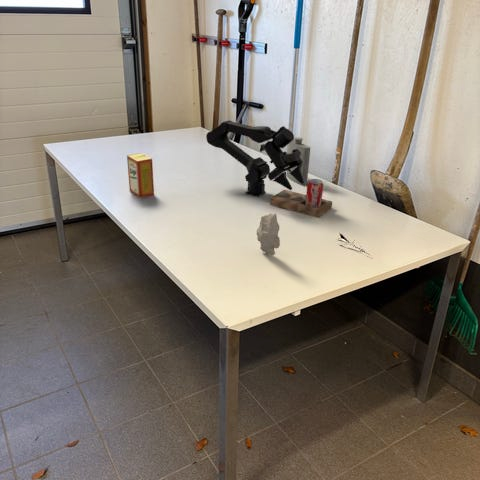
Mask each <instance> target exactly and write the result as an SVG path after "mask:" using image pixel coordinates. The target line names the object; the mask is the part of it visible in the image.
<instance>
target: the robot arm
mask: <svg viewBox="0 0 480 480" xmlns="http://www.w3.org/2000/svg"><path fill="white" fill-rule="evenodd" d="M230 133H233V134H235V135H236V134H237V135H240V136H244V137H247V138H249V139H250V140H251V141H253V142H255V143H257V144H260V148H259V153H260V152H261V153H262V152H265V153H266V154H267V156H268V158H269V159H270V161H269V164H273V165H274V167H275V168H274V169H272V170H271V167H270V165H269V164H268V161H265V160H264V159H263V158H262V157H260V156H259V157H257V158H254V157H252V156H251V155H250V154H249V153H247V152H246V151H244V150H243V149H242V148H240V147H239V146H237V145H236V144H235V143H234V142H233V141H231V140H230V137H229V136H228V135H229V134H230ZM205 139H206V142H207V143H208V144H209V145H211V146H212V147H214V148H218V149H222V150H223V151H224V152H226V153H227V154H228V155H230V156H231V157H232V158H233V159H235V160H236V161H237V162H238V163H240V164H241V165H242V166H244V167H245V168H246V170H247V174H246V175H245V176H244V177H245V181H246V182H247V191H246V192H245V194H246V195H250V196H253V197H260V196H262V195H264V194H265V193H266V191H265V189H266V186H265V185H266V184H265V179H267V178H268V179H269V181H270V182H271V181H272V182H275V183H277V184H279V185H281V186H282V187H285V188H286V190H287V189H288V191H291V190H293V187H292V185H291V182H290V181H289V178H288V177H287V176H286V174H287V170H288V171H290V174H291V175H292V176H293V177H294V178H295V179H296V180H297V181H299V182H300V183H301V184H303V183H304V181H303V177H302V174H301V166H302V163H303V161H302V160H301V158H300V155H301V152H300V151H299V150H298V149H294V150H292V153H290V154H288V151H287V152H286V151H283V150H282V149H284V148H286V147H287V146H289V143H290V142H291V141H292V140H294V139H295V135H294V133H293V131H291V130H290V129H289V128H287V127H285V126H281V127H279V129H278V130H273V129H271V127H270V126H264V125H262V126H261V125H260V126H259V125H258V126H252V125H248V124H244V123H240V122H234V121H232V120H229V119H228V120H225V121H222V122H221V123H220V124H218V125H217V127H215V128H214V129H212V130H210V131H208V132H207V133H206V138H205ZM265 142H266V143H265Z"/></svg>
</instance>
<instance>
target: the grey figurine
mask: <svg viewBox="0 0 480 480" xmlns="http://www.w3.org/2000/svg"><path fill="white" fill-rule="evenodd" d="M279 231H280V224H279V222H278V216H277V214H276V213H271V212H270V213H269V214H267V215H263V216H261V217H260V221H259V226H258V228H257V229H256V237H257V238H256V239H257V241H258V242H259V243H260V248H259V249H260V250H261V251H262V252H263V253H265V254H266V255H270V256H275V254H276V251H275V249H278V248H280V246H281V240H280V237H279V236H278V235H279Z"/></svg>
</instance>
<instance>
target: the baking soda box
mask: <svg viewBox="0 0 480 480" xmlns="http://www.w3.org/2000/svg"><path fill="white" fill-rule="evenodd" d="M126 158H127V159H126V160H127V161H126V162H127V171H128V185H129V186H128V187H129V192H130V191H131V193H132V192H133V193H132V194H134V195H135V194H136V195H135V196H137V197H138V196H139V197H138V198H141V197H142V198H146V197H149V196H150V197H151V196H154V195H155V188H154V186H155V185H154V168H153V159H152V158H151V157H149V156H147V155H146V154H144V153H135V154H129V155H126Z"/></svg>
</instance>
